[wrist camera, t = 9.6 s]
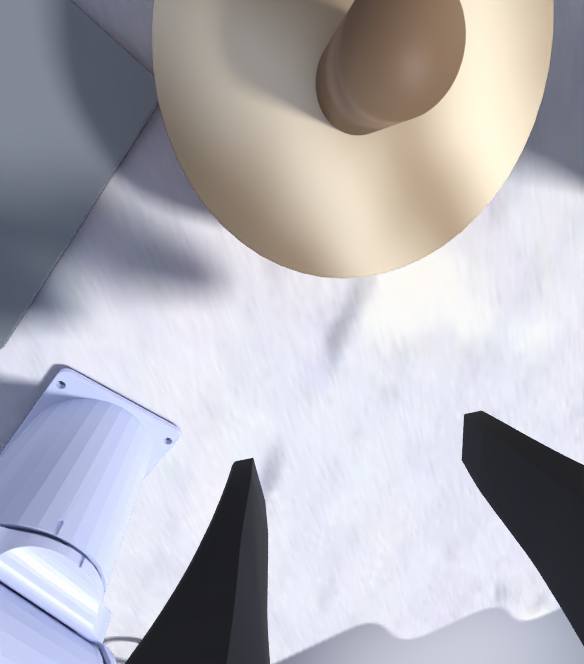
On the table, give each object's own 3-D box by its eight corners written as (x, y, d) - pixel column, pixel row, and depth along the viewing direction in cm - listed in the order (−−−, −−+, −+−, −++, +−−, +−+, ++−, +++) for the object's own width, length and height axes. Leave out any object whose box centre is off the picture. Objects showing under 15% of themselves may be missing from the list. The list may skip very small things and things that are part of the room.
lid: (359, 330, 16) (395, 380, 12) (80, 113, 12) (-4, 82, 8) (602, 65, 13) (757, 17, 9) (344, -369, 8) (428, -839, 5)
